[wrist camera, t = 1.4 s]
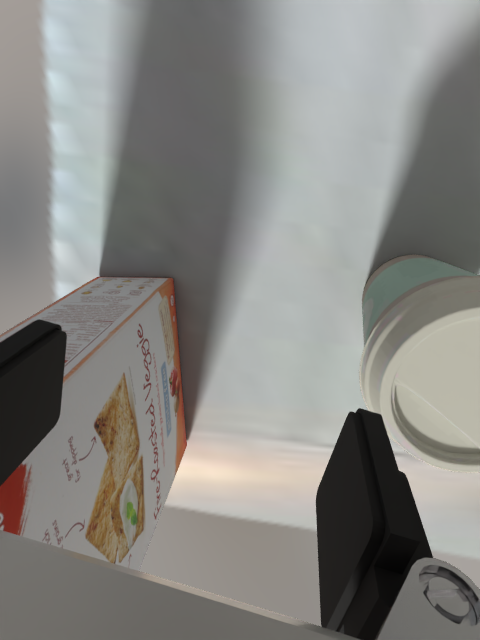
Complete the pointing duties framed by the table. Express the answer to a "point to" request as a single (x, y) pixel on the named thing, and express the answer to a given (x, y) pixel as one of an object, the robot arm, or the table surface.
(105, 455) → the cracker box
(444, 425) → the coffee cup
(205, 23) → the table surface
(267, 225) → the table surface
